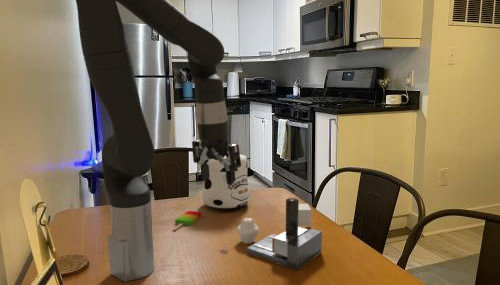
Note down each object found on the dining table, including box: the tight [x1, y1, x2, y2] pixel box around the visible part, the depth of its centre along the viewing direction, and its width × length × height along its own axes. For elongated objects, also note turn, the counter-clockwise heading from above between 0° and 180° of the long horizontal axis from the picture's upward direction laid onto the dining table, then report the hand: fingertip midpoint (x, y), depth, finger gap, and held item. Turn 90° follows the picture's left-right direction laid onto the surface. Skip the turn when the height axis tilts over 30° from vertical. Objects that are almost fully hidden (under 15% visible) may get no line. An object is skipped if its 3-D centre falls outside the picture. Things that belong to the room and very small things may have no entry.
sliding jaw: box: [272, 197, 309, 257], centre depth 98 cm, size 10×5×13 cm, turn 142°
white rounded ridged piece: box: [236, 217, 260, 244], centre depth 108 cm, size 6×6×7 cm
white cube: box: [298, 203, 312, 227], centre depth 120 cm, size 6×6×6 cm
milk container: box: [201, 153, 251, 211], centre depth 138 cm, size 17×17×18 cm
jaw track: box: [246, 228, 323, 271], centre depth 100 cm, size 12×16×6 cm
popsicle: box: [172, 210, 202, 231], centre depth 123 cm, size 6×15×2 cm, turn 162°
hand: (218, 181), depth 98 cm, fingers open, 8 cm apart
